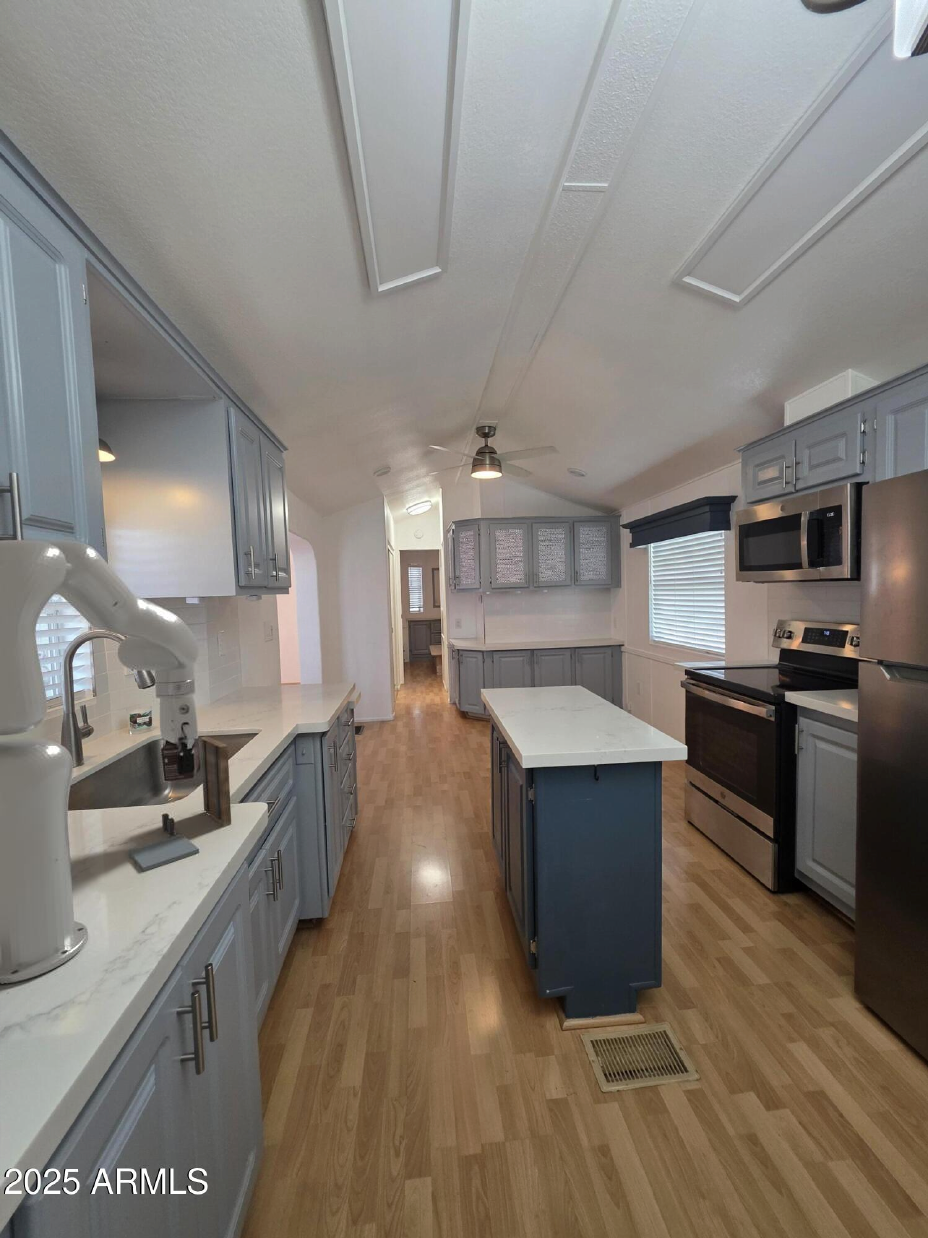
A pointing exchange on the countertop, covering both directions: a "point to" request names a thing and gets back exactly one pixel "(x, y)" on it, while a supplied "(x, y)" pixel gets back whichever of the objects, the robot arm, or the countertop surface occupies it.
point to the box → (170, 762)
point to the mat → (163, 852)
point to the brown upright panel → (211, 784)
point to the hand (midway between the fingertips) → (179, 768)
